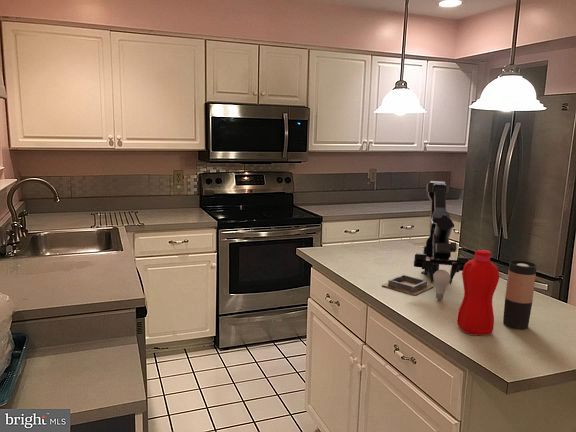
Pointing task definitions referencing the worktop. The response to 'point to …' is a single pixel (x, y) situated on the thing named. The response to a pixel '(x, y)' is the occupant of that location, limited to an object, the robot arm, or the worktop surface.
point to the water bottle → (478, 295)
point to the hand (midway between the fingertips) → (441, 283)
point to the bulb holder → (408, 285)
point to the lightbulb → (441, 282)
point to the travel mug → (519, 294)
